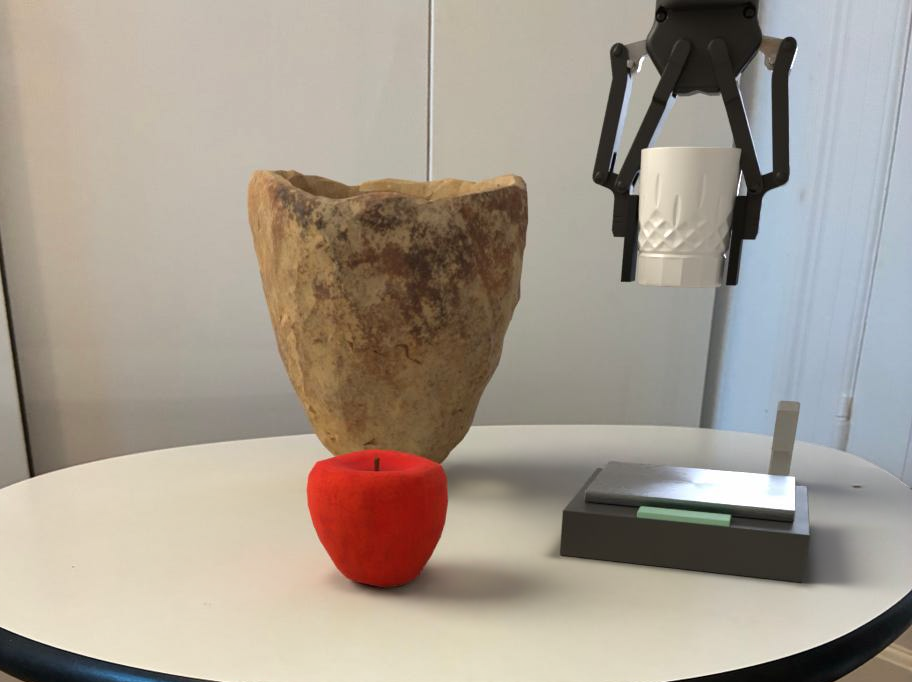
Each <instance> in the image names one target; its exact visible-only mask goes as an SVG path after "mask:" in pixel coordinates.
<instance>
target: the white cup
mask: <svg viewBox="0 0 912 682" xmlns="http://www.w3.org/2000/svg"><path fill="white" fill-rule="evenodd" d="M740 155H741V149H739V148H736V147H728V146H727V147H726V146H657V147H653V148H646V149H642V150H641V164H640V176H639V182H638V183H639V186H638V195H639V202H638V215H639V220H638V243H637V249H638V252H639V253H638V254H637V257H638V261H637V263H638V265H637V285H638V286H646V287H660V288H687V289H688V288H689V289H691V288H693V289H697V288H698V289H702V288H703V289H704V288H705V289H706V288H708V289H709V288H720V287H721V286H722V284H723V278H724V271H725V266H726V259H727V256H726V254H727V253H728V251H729V250H730V244H731V236H732V227H733V219H734V210H735V202H736V196H739V191H740V185H741V184H740V183H741V177H742V174H743V172H742V168H741V164H740Z"/></svg>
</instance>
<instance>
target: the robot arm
mask: <svg viewBox="0 0 912 682" xmlns="http://www.w3.org/2000/svg"><path fill="white" fill-rule="evenodd" d="M760 6H761V0H655V10H654V18H653V23H652V26H651V28H650V30H649V32H648V34H647V36H646V38H645V39H643V40H639V41H635V42H630V43H627V44H624V43H622V42H615V43H614V44H612V46H611V47H610V49H609V58H610V59H609V60H610V67H611V77H612V78H611V83H610V88H609V93H608V98H607V102H606V107H605V112H604V116H603V122H602V125H601V126H602V127H601V131H600V136H599V142H598V146H597V153H596V156H595V162H594V166H593V170H592V182H593V183H595V184H596V185H599V186H601V187H603V188H606V189H608V190H609V191H611V193H612V195H613V210H612V221H611V222H612V224H611V233H612V235H613V238H623V248H622V259H621V271H620V272H621V273H620V282H621V283H632V282H635V281H636V275H637V263H638V254H639V253H638V252H639V251H638V249H637V243H638V220H639V215H638V202H639V194H633V193H634V192H635V187H636V185H637V183H638V180H639V179H640V164H641V150H642V149H646V148H654V146H655V143H656V142H657V139H658V137H659V135H660V133H661V131H662V129H663V126H664V125H665V122H666V120H667V118H668V115H669V114H670V112H671V110H672V108H673V107H674V105H675V103H676V101H677V99H678V97H692V96H695V95H698V94H702V95H705V96H709V97H720V96H721V98H722V99H721V100H722V102H723V105H724V108H725V112H726V116H727V120H728V124H729V127H730V131H731V134H732V138H733V141H734V144H735V148H739V149H741V155H740V164H741V168H742V175H743V179H744V183H745V187H746V195H738V196H736V202H735V210H734V219H733V227H732V233H731V238H730V244H729V253H728V254H729V255H728V263H727V270H726V271H727V272H726V280H725V286H729V287H730V286H732V287H735V286H737V285H739V277H740V271H741V261H742V254H743V253H742V252H743V244H744V241H745V240H746V241H756V240H757V237H758V235H759V234H760V226H761V220H762V219H761V218H762V211H763V203H764V198H765V196H766V195H767V194H768V193H769V192H771V191H774V190H777V189H779V188H782V187H785V186H787V185H788V184H789V182H790V180H791V116H790V115H791V113H790V110H791V107H790V106H791V105H790V102H791V101H790V100H791V99H790V97H791V96H790V77H791V74H792V71H793V67H794V64H795V61H796V57H797V55H798V50H799V47H798V42H797V39H796V38H795V37H793V36H786V37H783V38H780V37H774V36H768V35H763V30H762V29H761V27H760V22H759V21H760V20H759V15H760V8H761V7H760ZM758 53H760V54H762V55H763V57H764V60H763V61H764V62H763V63H764V67H765V69H766V71H768V72H771V79H770V80H771V81H770V83H771V84H770V86H771V89H770V90H771V91H770V93H771V97H770V98H771V157H772V159H771V160H772V171H770V172H768V173H764V174H763V173H762V169H761V165H760V162H759V157H758V154H757V150H756V146H755V142H754V138H753V135H752V131H751V128H750V123H749V120H748V115H747V111H746V109H745V105H744V100H743V97H742V92H741V89H740V85H739V80H738V79H739V78H740V77H741V75H742V74H743V73H744V72H745V70H746V69H747V68H748V67H749V65H750V64H751V63H752V61H754V59H755V57H756V56H757V55H758ZM647 57H649V59H650V61H651V63H652V64H653V66H654V67H655V69H656V71H657V73H658V75H659V76H660V78H659V81H658V83H657V86H656V87H655V89H654V91H653V95H652V98H651V102H650V104H649V106H648V108H647V110H646V113H645V115H644V117H643V119H642V122H641V123H640V126H639V129H638V130H637V132H636V135H635V136H634V139H633V141H632V143H631V146H630V148H629V150H628V152H627V154H626V157H625V159H624V161H623V164H622V166H621V168H620V170H619V171H618V173H617V172H615V169H616V165H617V160H618V156H619V155H618V154H619V150H620V145H621V141H622V137H623V132H624V126H625V122H626V119H627V118H626V117H627V114H628V108H629V102H630V99H631V94H632V89H633V77H634V76H635V75H638V74H639V72H640V71H641V69H642V63H643V61H644V59H645V58H647Z"/></svg>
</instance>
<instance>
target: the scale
mask: <svg viewBox="0 0 912 682" xmlns="http://www.w3.org/2000/svg"><path fill="white" fill-rule="evenodd" d="M603 468H604V467H603ZM603 468H602V467H598V468H596V470H594V472H593V473H592V474H591V475H590V477H589V478H588V479H587V480H586V481H585V483H584V484H583V485H582V487H581V488H580V489H579V490H578V491H577V493H576V494H575V495H574V496H573V498H572V499H571V500H570V501H569V502H568V503H567V505H566V506H565V508H564V509H562V514H561V515H562V516H561V532H560V542H559V543H560V545H559V556H566V557H576V558H585V559H593V560H601V561H610V562H619V563H627V564H636V565H646V566H653V567H654V566H655V567H663V568H672V569H678V570H679V569H681V570H690V571H696V572H697V571H698V572H705V573H706V572H707V573H716V574H723V575H732V576H733V575H734V576H740V577H750V578H760V579H767V580H768V579H769V580H776V581H787V582H793V583H803V582H804V576H805V568H806V562H807V557H808V550H809V546H810V539H811V529H810V528H811V527H810V526H811V525H810V510H809V509H810V508H809V489H808V486H806V485H796V484H795V498H796V512H795V518H794V522H787V521H776V520H766V519H756V518H746V517H736V516H731V515H727V514H717V513H706V512H696V511H686V510H676V509H665V508H655V507H645V506H641V507H634V506H624V505H614V504H603V503H593V502H585V501H584V500H585V491H586V490H587V488H588V487H589V486H590V485H591V483H592V482H593V481H594V480H595V478H596V477H597V476H598V474H599V473H600V472H601V471H602V469H603Z"/></svg>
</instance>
